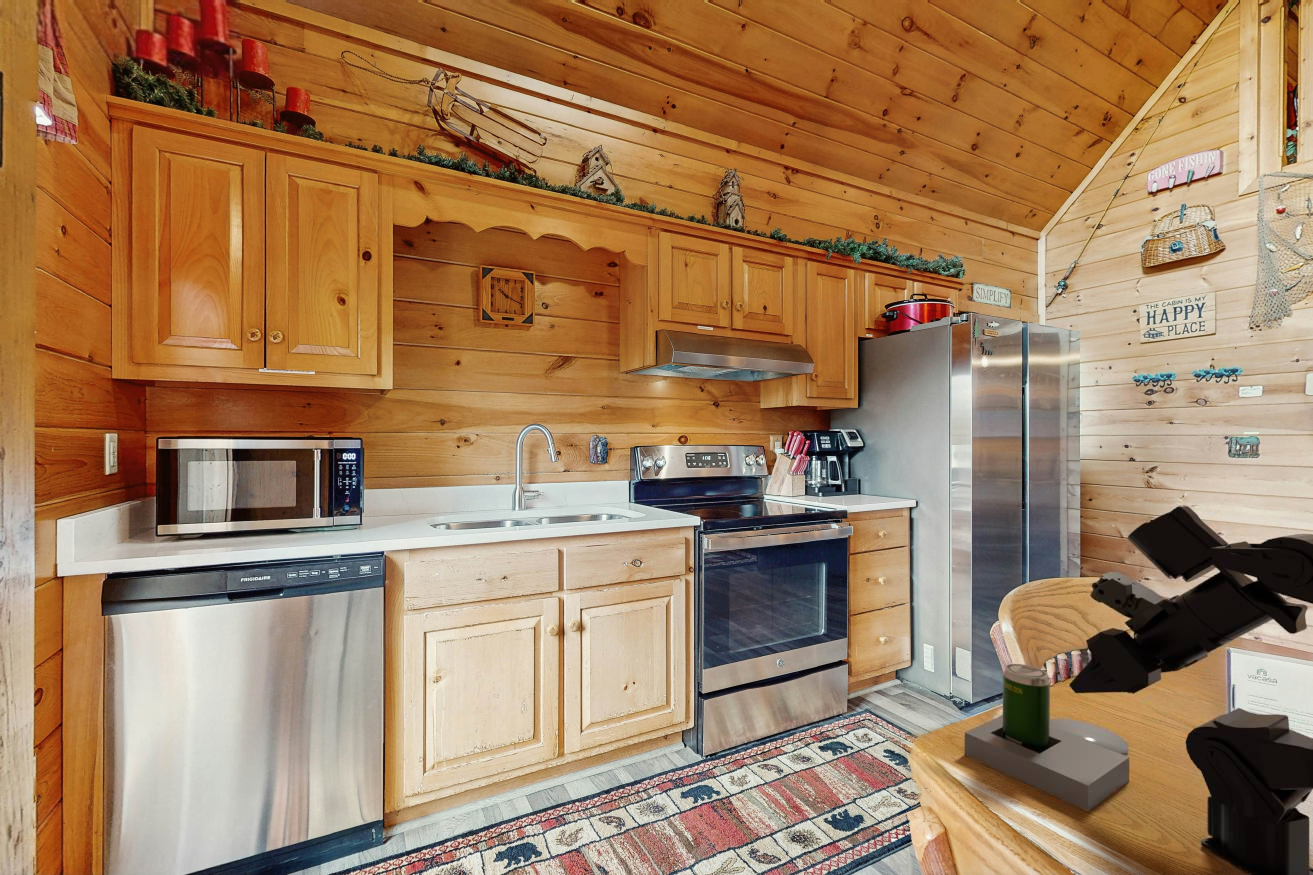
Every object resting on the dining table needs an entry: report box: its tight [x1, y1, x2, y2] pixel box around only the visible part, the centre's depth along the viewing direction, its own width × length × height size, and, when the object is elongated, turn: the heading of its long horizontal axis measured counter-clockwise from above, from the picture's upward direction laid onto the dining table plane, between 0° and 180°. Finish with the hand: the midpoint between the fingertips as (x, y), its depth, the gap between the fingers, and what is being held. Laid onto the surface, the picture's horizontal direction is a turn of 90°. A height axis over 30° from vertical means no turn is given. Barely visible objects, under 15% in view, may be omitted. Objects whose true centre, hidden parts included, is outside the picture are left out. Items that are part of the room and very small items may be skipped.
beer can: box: [1002, 663, 1051, 754], centre depth 78 cm, size 5×5×12 cm
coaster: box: [1050, 718, 1130, 756], centre depth 84 cm, size 10×10×1 cm
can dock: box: [964, 714, 1130, 812], centre depth 76 cm, size 14×12×3 cm
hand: (1090, 681), depth 72 cm, fingers open, 9 cm apart
